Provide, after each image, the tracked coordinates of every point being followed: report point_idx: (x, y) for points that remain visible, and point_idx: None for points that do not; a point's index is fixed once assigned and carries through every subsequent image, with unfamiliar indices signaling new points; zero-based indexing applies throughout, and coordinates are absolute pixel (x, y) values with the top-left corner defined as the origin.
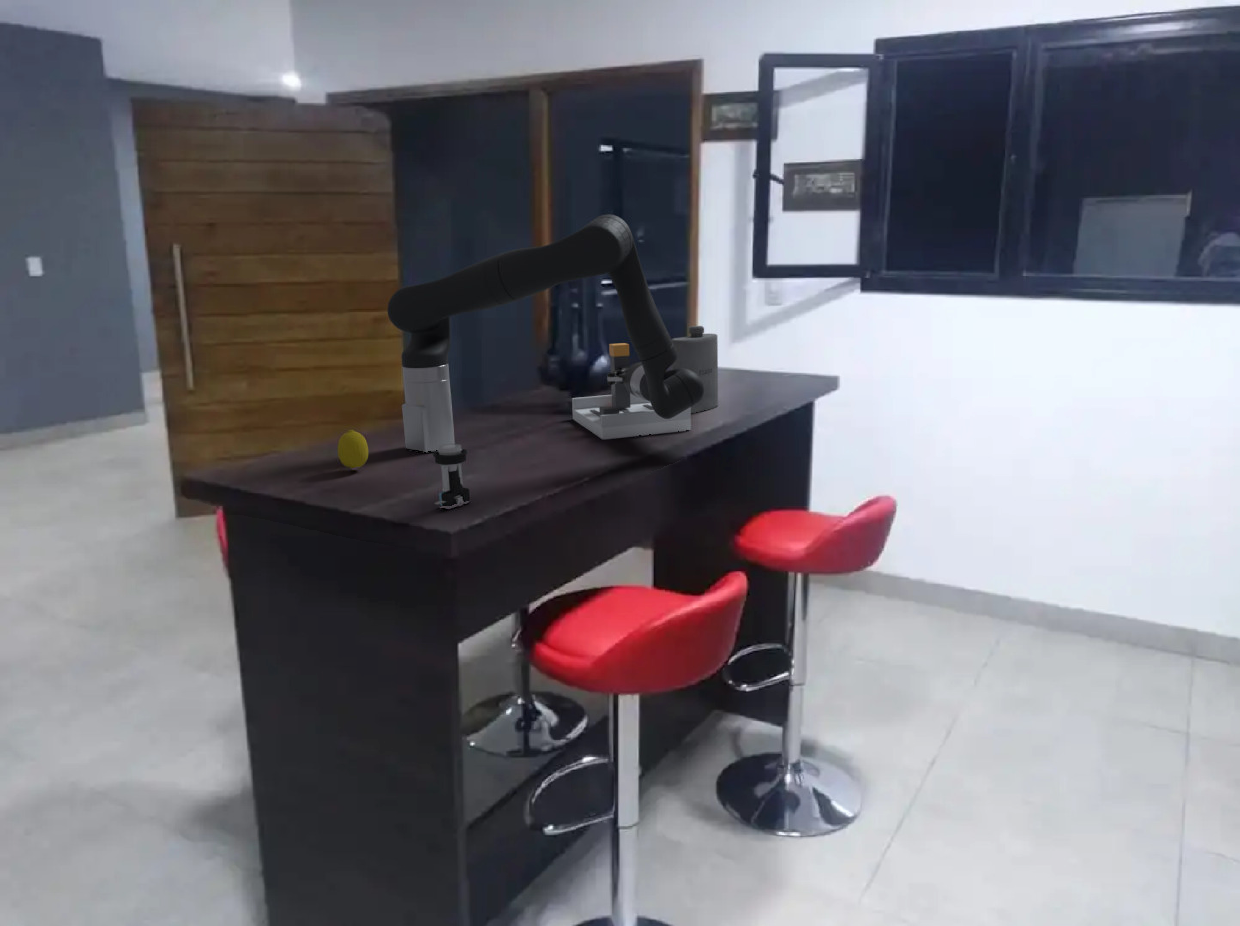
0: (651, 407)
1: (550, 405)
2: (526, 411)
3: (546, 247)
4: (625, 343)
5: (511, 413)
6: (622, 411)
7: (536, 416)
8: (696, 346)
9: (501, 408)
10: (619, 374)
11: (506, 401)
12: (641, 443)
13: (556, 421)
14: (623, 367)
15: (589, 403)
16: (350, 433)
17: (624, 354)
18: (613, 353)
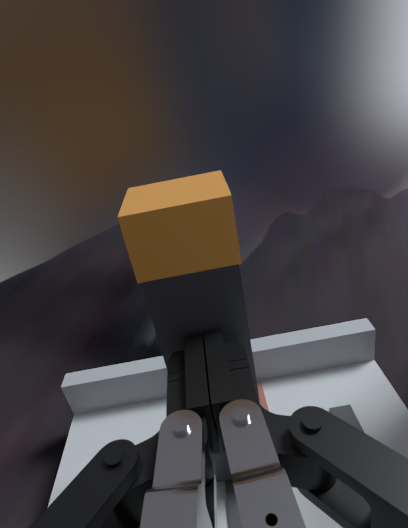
0: None
1: (119, 283)
2: (47, 319)
3: None
4: (220, 177)
5: (8, 331)
6: (228, 510)
7: (31, 367)
8: None
9: (25, 293)
10: (128, 502)
11: (68, 255)
12: None
13: (32, 441)
14: (202, 350)
15: (126, 392)
16: None
17: (207, 262)
18: (133, 262)
